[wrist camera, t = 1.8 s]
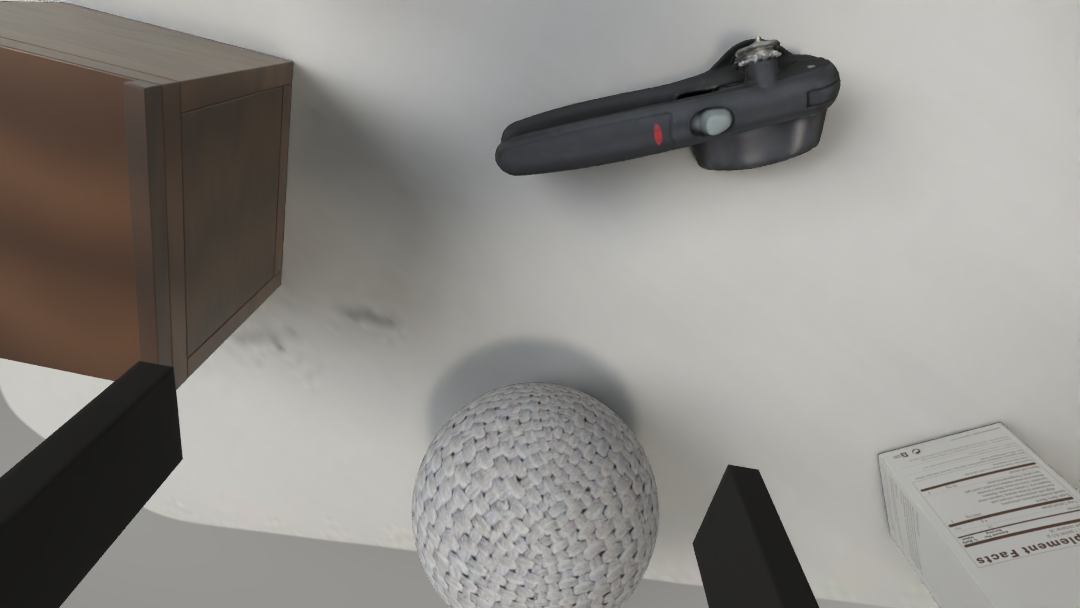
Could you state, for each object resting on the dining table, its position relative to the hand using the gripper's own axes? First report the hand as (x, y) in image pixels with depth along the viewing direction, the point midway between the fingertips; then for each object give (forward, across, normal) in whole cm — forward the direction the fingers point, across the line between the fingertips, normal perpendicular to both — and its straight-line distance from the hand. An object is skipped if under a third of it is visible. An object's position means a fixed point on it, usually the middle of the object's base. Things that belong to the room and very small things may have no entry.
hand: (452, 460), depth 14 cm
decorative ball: (+24, +5, -17) cm, 30 cm away
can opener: (+24, +7, +6) cm, 26 cm away
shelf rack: (+24, -20, -2) cm, 31 cm away
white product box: (+24, +36, -16) cm, 46 cm away
